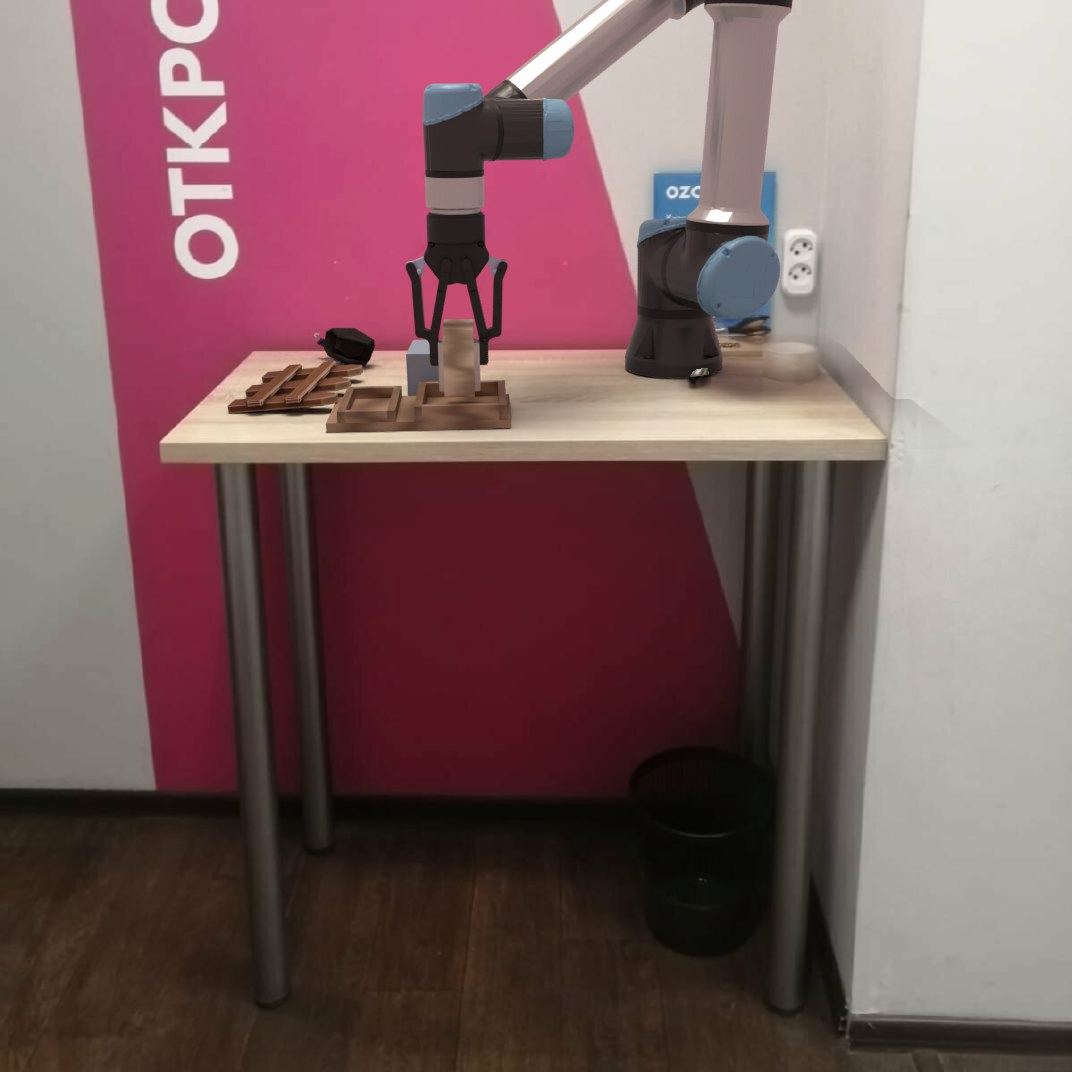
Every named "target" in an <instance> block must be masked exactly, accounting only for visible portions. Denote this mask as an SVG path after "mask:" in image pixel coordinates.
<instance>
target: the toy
mask: <svg viewBox="0 0 1072 1072" xmlns="http://www.w3.org/2000/svg"><path fill="white" fill-rule="evenodd" d="M319 336H320V333H318V332H315V333H314V334H313V337H314V338H315V339H317V340H318V341H316V344H317V345H318V346H321V347H323V350H324V352H325V353H326V355H327V356H328V357H329V358H331V359H333V360H334V361H336V362H339V364H338V365H337V366H341V365H362V367H363V366H364V367H365V366H366V365H368V363H369V362H370V361H371V358H372V355H373V352H374V350H375V348H376V345H375V344H376V343H375V342H376V341H375V339H373V338H372V337H371V336H369V335H367V334H365V333H364V332H362V331H361V330H359V329H357V328H355V327H331V328H330V329H328V330H326V331H325V335H324V338H322V337H319Z"/></svg>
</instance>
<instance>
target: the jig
mask: <svg viewBox="0 0 1072 1072" xmlns="http://www.w3.org/2000/svg"><path fill="white" fill-rule="evenodd" d="M402 387H403V386H402V385H373V386H371V385H367V386H366V385H365V386H364V385H363V386H350V387H347V389H345V392H344V394H343V396H342V397H340V396H339V397H338V401H337V402H336V403H334V404H333V407H332V409H331V410H330V411H331V412H330V414H329V416H328V417H327V419H326V420H327V421H326V422H325V430H326V433H353V432H354V433H359V432H360V433H361V432H365V433H366V432H398V431H399V432H401V431H402V432H404V431H406V432H408V431H409V432H411V431H413V432H414V431H415V432H417V431H449V430H450V431H454V430H455V431H457V430H458V429H460V430H461V429H465V430H493V429H492V428H511V429H512V427H511V426H512V421H511V419H512V418H511V405H510V393H507V390H506V380H505V379H504V380H503V379H499V380H498V379H496V380H495V379H494V380H493V379H490V380H480V391H475V397H445V396H444V392H439V381H436V382H419V385H418V390H417V395H416V396H408V395H403V389H402ZM460 430H458V431H460Z"/></svg>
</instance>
